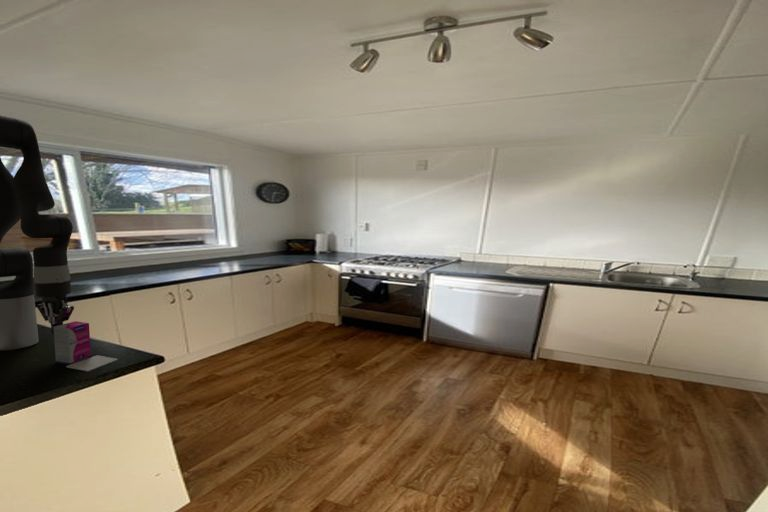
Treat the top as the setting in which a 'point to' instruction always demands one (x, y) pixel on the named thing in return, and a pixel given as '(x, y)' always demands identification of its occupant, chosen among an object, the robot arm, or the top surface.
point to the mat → (92, 363)
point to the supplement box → (72, 342)
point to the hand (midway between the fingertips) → (57, 334)
